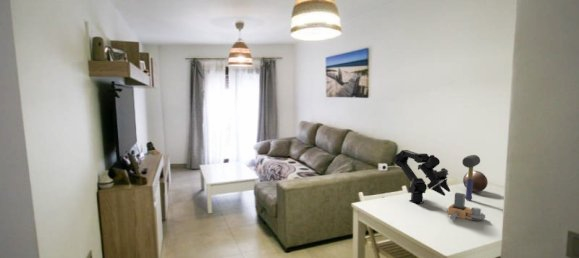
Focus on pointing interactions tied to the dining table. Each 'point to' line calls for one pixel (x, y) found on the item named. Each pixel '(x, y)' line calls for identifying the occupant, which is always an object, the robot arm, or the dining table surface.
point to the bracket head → (466, 213)
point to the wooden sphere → (477, 181)
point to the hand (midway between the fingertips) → (447, 193)
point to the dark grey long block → (459, 201)
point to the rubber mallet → (470, 173)
